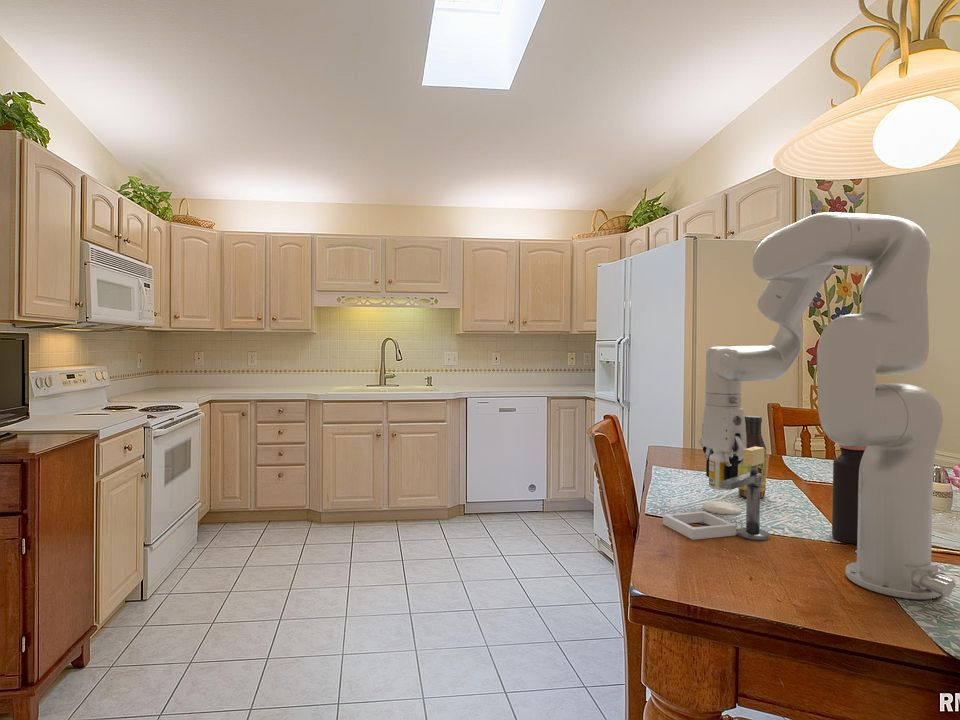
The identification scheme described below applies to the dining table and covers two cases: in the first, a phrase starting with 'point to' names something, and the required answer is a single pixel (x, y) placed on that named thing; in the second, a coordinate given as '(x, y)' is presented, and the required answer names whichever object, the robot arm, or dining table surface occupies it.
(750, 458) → the lever handle
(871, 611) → the dining table surface
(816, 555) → the dining table surface
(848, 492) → the vinegar
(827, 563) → the dining table surface
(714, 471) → the supplement bottle
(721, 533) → the dock
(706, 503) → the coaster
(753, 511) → the post
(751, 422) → the sauce bottle
